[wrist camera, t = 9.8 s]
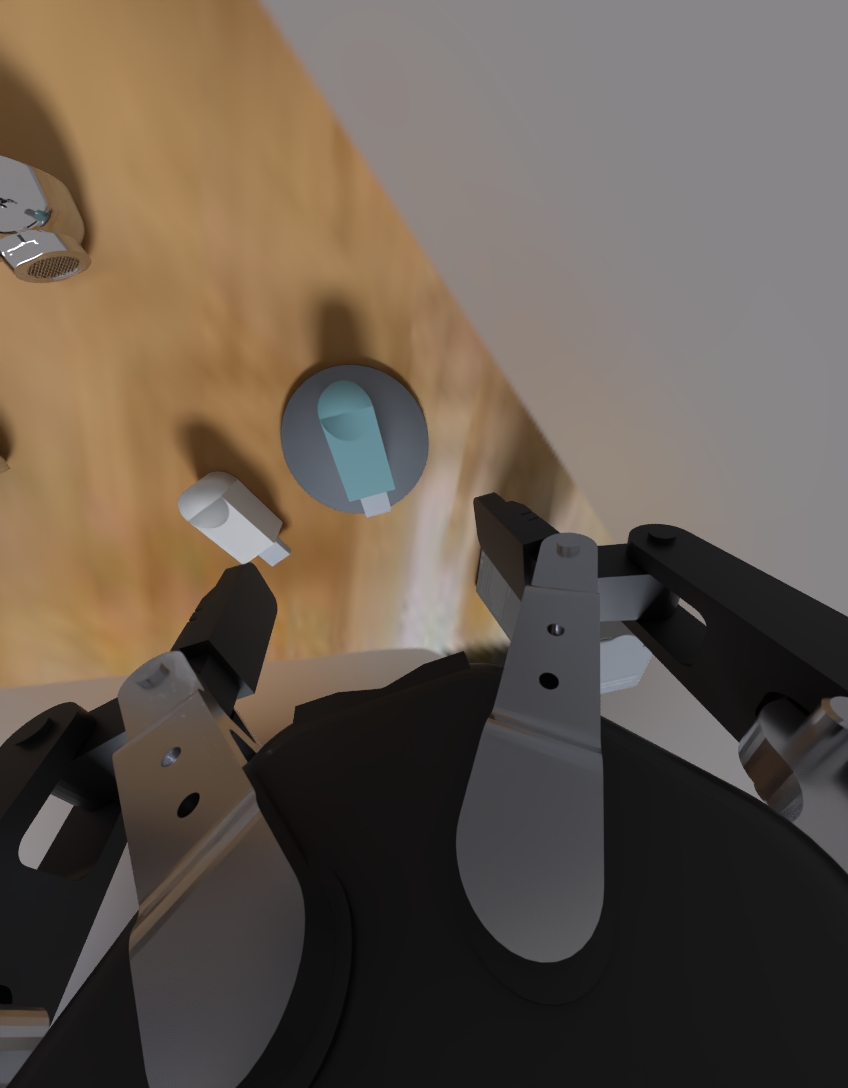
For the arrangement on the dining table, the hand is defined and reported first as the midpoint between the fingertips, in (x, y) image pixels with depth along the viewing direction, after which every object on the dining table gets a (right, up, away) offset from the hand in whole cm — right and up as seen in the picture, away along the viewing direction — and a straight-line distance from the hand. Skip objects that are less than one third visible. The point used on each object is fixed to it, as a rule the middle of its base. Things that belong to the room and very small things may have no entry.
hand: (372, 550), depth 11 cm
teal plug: (-4, +9, +15) cm, 17 cm away
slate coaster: (-4, +9, +15) cm, 18 cm away
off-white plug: (-14, +3, +16) cm, 21 cm away
